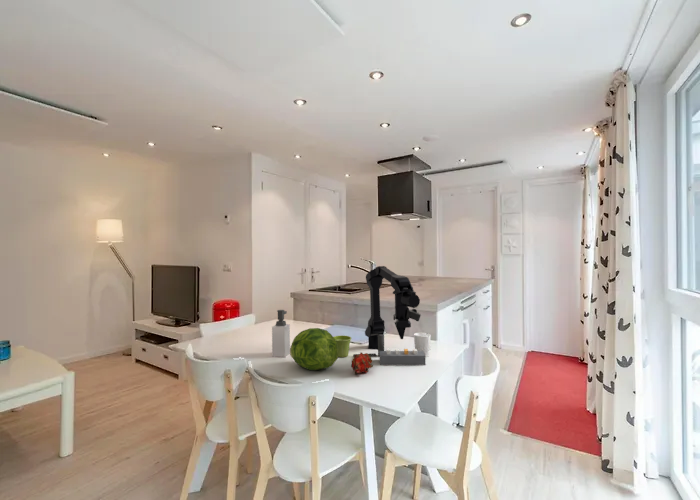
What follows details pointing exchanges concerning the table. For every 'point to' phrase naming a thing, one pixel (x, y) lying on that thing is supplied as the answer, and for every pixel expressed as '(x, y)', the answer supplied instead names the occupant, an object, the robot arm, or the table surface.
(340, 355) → the plant pot
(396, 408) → the table surface
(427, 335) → the white cup
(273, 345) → the soap dispenser
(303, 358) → the lettuce
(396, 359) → the breaker strip
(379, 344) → the post
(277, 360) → the table surface
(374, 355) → the dark grey thin rod
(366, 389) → the table surface
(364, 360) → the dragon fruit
